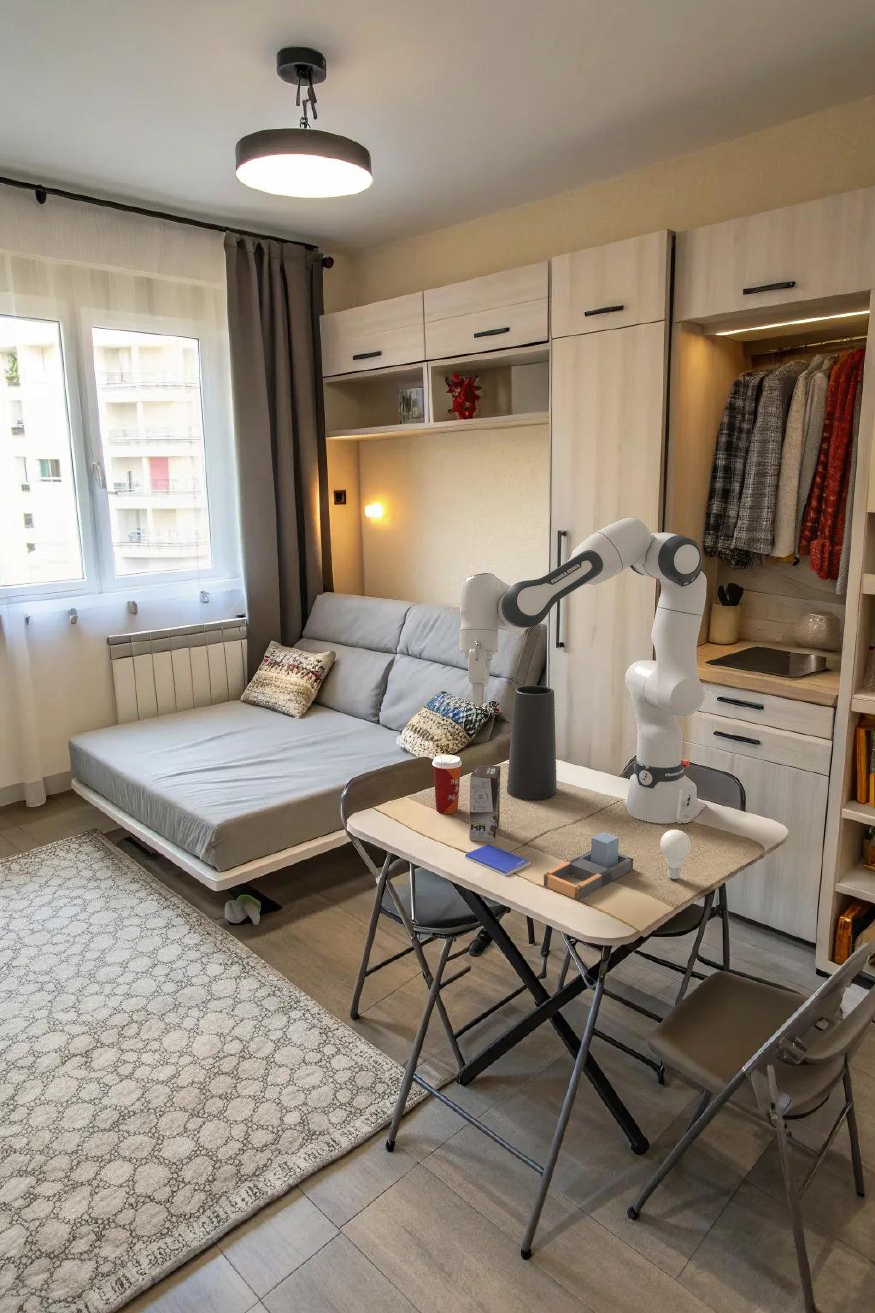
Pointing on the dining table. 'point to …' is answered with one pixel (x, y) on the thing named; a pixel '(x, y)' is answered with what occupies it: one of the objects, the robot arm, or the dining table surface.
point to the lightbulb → (675, 851)
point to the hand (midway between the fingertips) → (478, 705)
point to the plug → (605, 850)
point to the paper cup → (447, 783)
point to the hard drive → (497, 859)
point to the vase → (533, 745)
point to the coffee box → (484, 803)
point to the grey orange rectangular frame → (585, 875)
